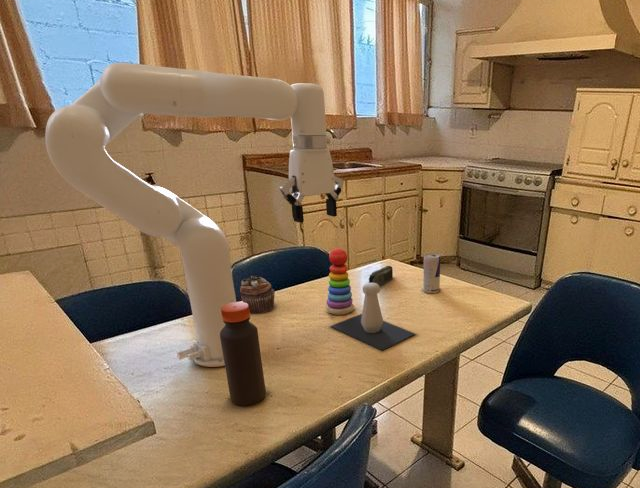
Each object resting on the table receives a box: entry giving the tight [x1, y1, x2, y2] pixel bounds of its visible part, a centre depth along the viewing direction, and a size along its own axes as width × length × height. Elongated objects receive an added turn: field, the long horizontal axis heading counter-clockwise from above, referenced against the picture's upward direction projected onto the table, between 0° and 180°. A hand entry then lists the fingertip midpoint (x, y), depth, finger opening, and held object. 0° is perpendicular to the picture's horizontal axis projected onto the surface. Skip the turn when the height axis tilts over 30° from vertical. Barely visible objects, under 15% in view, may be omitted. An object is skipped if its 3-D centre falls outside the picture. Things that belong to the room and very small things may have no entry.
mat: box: [330, 313, 416, 352], centre depth 121 cm, size 12×20×1 cm, turn 49°
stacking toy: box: [325, 247, 355, 316], centre depth 130 cm, size 8×8×19 cm
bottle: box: [220, 301, 267, 407], centre depth 89 cm, size 7×7×20 cm
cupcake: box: [239, 274, 276, 314], centre depth 133 cm, size 10×10×10 cm
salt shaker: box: [361, 282, 384, 333], centre depth 119 cm, size 6×6×13 cm
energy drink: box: [422, 253, 441, 294], centre depth 148 cm, size 5×5×12 cm
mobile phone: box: [368, 265, 394, 287], centre depth 155 cm, size 5×3×15 cm
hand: (315, 218), depth 109 cm, fingers open, 9 cm apart
